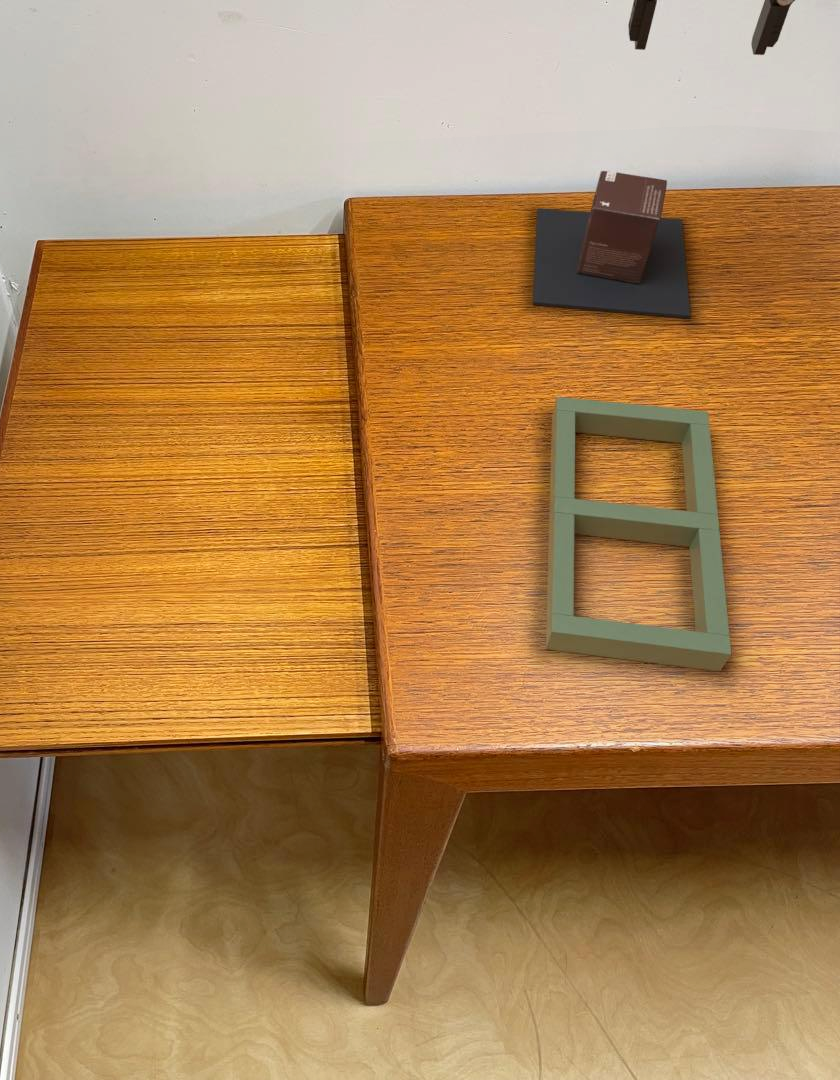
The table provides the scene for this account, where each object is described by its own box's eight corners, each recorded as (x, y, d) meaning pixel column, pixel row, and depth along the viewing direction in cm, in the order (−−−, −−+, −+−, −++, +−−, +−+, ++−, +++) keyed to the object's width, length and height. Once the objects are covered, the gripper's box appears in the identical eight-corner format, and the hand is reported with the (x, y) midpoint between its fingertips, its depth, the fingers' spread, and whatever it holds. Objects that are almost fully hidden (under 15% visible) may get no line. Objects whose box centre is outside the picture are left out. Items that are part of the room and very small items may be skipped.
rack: (551, 416, 83) (557, 396, 81) (699, 431, 82) (708, 411, 80) (545, 649, 70) (551, 631, 68) (720, 671, 69) (731, 654, 67)
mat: (680, 222, 98) (682, 219, 97) (689, 319, 90) (690, 315, 89) (537, 211, 99) (537, 208, 99) (532, 305, 91) (533, 301, 91)
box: (639, 286, 92) (660, 220, 86) (574, 274, 93) (590, 207, 87) (648, 246, 95) (669, 179, 89) (584, 234, 96) (601, 168, 90)
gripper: (883, -232, 63) (790, 27, 76) (651, -235, 64) (599, 18, 78) (905, -188, 58) (803, 78, 71) (656, -192, 60) (600, 68, 73)
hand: (697, 47), depth 74 cm, fingers open, 8 cm apart
